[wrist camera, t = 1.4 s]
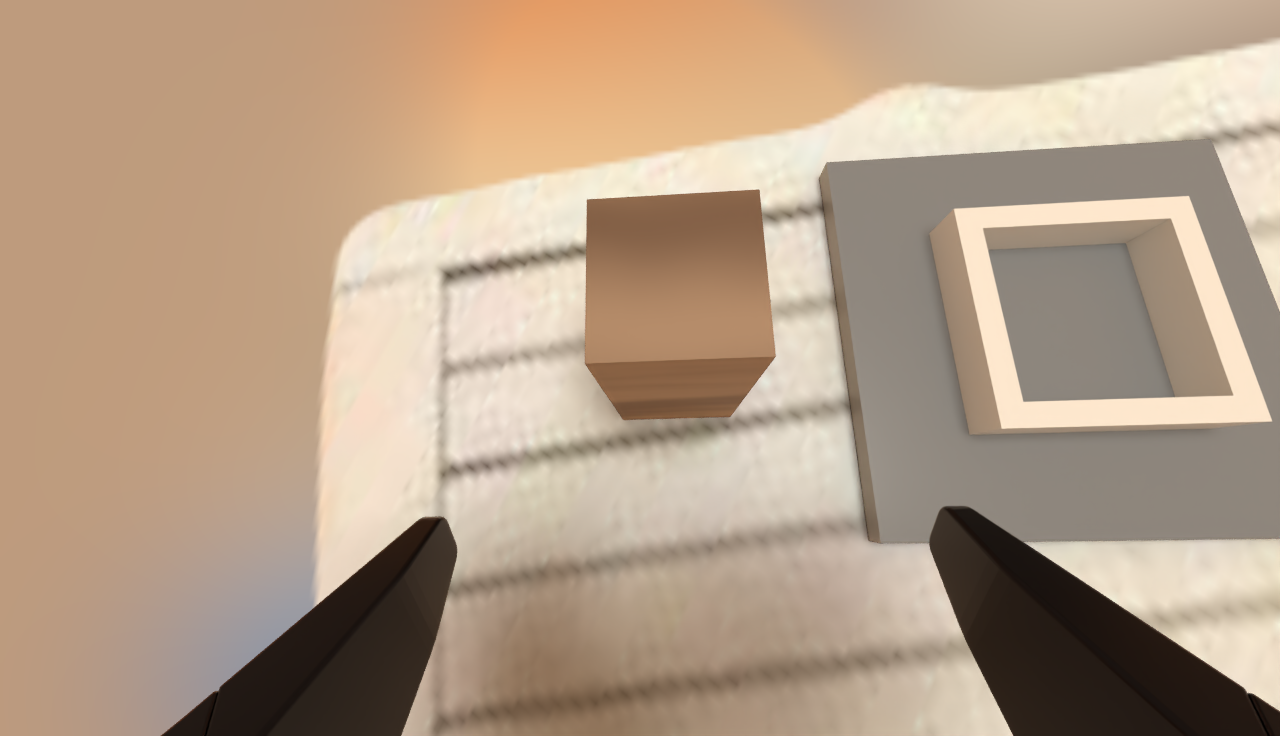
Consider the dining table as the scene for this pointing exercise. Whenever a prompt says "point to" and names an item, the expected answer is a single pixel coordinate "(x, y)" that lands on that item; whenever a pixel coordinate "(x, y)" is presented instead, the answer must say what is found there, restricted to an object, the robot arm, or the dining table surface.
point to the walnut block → (677, 302)
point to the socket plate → (1057, 343)
